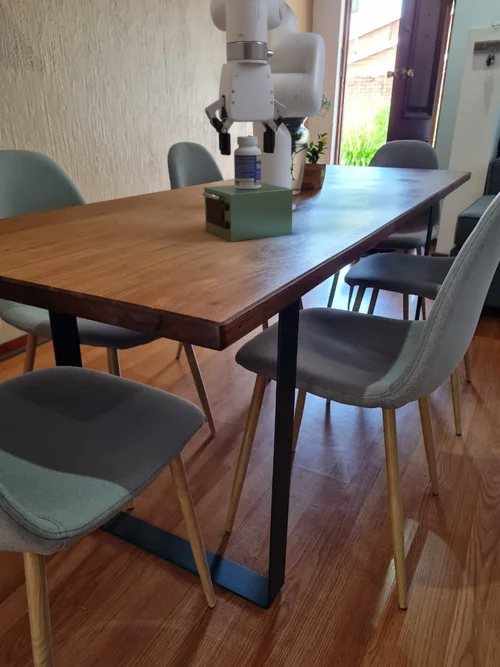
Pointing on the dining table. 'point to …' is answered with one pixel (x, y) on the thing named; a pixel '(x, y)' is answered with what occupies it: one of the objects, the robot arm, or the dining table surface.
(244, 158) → the pill bottle
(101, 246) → the dining table surface
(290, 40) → the robot arm
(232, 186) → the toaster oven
